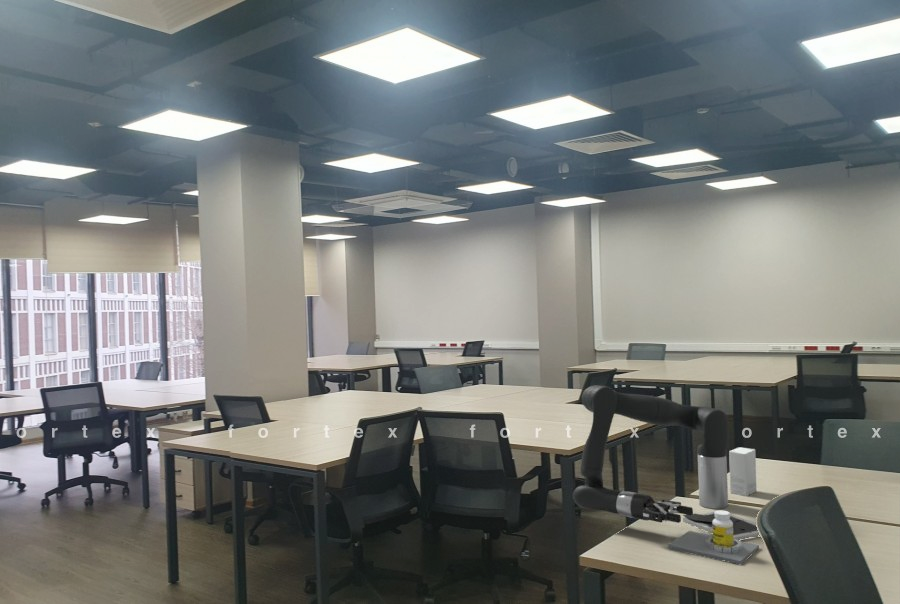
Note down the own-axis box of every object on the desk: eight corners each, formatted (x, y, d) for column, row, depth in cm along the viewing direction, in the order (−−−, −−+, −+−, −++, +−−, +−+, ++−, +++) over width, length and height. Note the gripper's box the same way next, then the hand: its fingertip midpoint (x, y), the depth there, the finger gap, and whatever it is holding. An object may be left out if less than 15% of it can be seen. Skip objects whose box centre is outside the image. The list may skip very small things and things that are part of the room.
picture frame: (683, 524, 211) (732, 545, 191) (682, 515, 211) (731, 535, 191) (722, 517, 216) (773, 536, 197) (721, 508, 216) (773, 527, 197)
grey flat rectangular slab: (689, 533, 200) (689, 530, 200) (759, 548, 186) (759, 545, 186) (668, 548, 188) (668, 544, 188) (740, 565, 175) (740, 561, 175)
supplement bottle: (708, 545, 187) (707, 510, 187) (723, 542, 189) (722, 508, 189) (722, 552, 182) (721, 516, 182) (738, 548, 184) (737, 513, 184)
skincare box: (740, 488, 246) (739, 446, 246) (758, 492, 241) (756, 449, 241) (729, 493, 240) (727, 450, 240) (747, 496, 235) (745, 453, 235)
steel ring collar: (713, 539, 192) (713, 534, 192) (746, 546, 186) (745, 540, 186) (701, 548, 185) (701, 542, 185) (734, 555, 179) (734, 550, 179)
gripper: (623, 498, 198) (675, 508, 187) (645, 488, 209) (695, 496, 198) (624, 523, 198) (676, 534, 187) (645, 511, 208) (696, 521, 198)
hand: (686, 515), depth 192 cm, fingers open, 8 cm apart
